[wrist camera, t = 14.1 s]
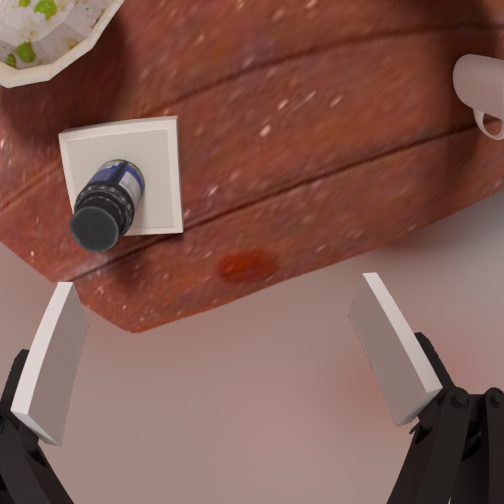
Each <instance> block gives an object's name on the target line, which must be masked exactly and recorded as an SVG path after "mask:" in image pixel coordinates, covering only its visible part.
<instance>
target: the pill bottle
mask: <svg viewBox="0 0 504 504" xmlns="http://www.w3.org/2000/svg"><path fill="white" fill-rule="evenodd" d="M144 187H145V184H144V178H143V175H142V173H141V171H140V169H139V168H138V167H137V166H136V165H134V164H133V163H131V162H129V161H126V160H122V159H116V160H111V161H109V162H107V163H105V164H103V165H102V166H101V167H100V168H99V169H98V171H97V172H96V173H95V174H94V176H93V177H92V178H91V179H90V181H89V182H88V183H87V184H86V186H85V187H84V188H83V189H82V191H81V192H80V193H79V195H78V196H77V198H76V200H75V204H74V214H73V216H72V218H71V221H70V231H71V234H72V237H73V238H74V240H75V241H76V243H77V244H78V245H79V246H80V247H82V248H83V249H85V250H87V251H90V252H95V253H101V252H105V251H108V250H109V249H111V248H112V247H113V246H114V245H115V244H116V242H117V241H118V239H119V238H121V237H122V236H123V235H125V234H126V232H127V231H128V230H129V228H130V227H131V225H132V222H133V219H134V216H135V213H136V210H137V208H138V205H139V202H140V200H141V197H142V195H143V192H144Z"/></svg>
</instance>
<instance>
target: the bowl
mask: <svg viewBox="0 0 504 504" xmlns="http://www.w3.org/2000/svg"><path fill="white" fill-rule="evenodd" d="M123 2H124V0H0V85H2V86H4V87H6V88H11V87H16V86H21V85H26V84H31V83H36V82H42V81H48V80H50V79H51V78H52V77H54V76H55V75H56V74H58V73H59V72H60V71H61V70H63V69H64V68H65V67H67V66H68V65H69V64H71V63H72V62H73V61H75V60H76V59H78V58H79V57H80V56H82V55H83V54H85V53H86V52H88V51H89V50H91V49H92V48H93V46H94V45H95V43H96V41H97V40H98V38H99V37H100V35H101V34H102V32H103V30H104V29H105V27H106V26H107V24H108V23H109V21H110V20H111V19H112V17H113V16H114V14H115V13H116V11H117V10H118V9H119V7H120V6H121V4H122V3H123Z"/></svg>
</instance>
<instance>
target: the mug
mask: <svg viewBox="0 0 504 504" xmlns="http://www.w3.org/2000/svg"><path fill="white" fill-rule="evenodd" d="M453 85H454V89H455V92H456V94H457V96H458V97H459V99H460V100H461V101H462V102H463V103H464V104H466V105H467V106H469V107H471V108H473V112H474V117H475V120H476V123H477V125H478V126H479V128H480V129H481V130H482V131H483V133H485V134H486V135H487V136H489V137H491V138H493V139H496V140H500V139H503V138H504V60H500V59H496V58H491V57H486V56H480V55H474V54H467V55H464V56H462V57H461V58H459V60H458V61H457V62H456V64H455V66H454V70H453ZM484 113H487V114H489V115H492V116H494V117H497V118H499V119H501V120H502V128H501V131H500V133H499V134H497V135H490V134H489V133H488V132H487V131H486V130H485V128H484V125H483V116H484Z"/></svg>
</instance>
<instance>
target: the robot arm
mask: <svg viewBox="0 0 504 504" xmlns="http://www.w3.org/2000/svg"><path fill="white" fill-rule="evenodd" d="M349 317H350V320H351V322H352V324H353V326H354V329H355V331H356V333H357V335H358V338H359V340H360V342H361V344H362V346H363V349H364V351H365V353H366V356H367V358H368V360H369V363H370V365H371V367H372V370H373V372H374V374H375V376H376V379H377V381H378V384H379V386H380V388H381V391H382V393H383V396H384V398H385V401H386V403H387V406H388V408H389V411H390V413H391V416H392V418H393V421H394V423H395V426H396V427H398V426H402V425H405V424H408V423H411V422H412V421H413V420H414V419H415V418H416V417H417V416H418V418H419V420H420V421H419V422H418V424H416V426H414V427H413V428H412V429H411V431H410V433H409V434H412V433H413V432H414V431H415V433H414V436H413V439H412V442H411V445H410V448H409V450H408V453H407V456H406V459H405V461H404V464H403V466H402V469H401V471H400V474H399V477H398V479H397V481H396V484H395V486H394V488H393V491H392V493H391V495H390V497H389V500H388V502H387V504H448V502H449V499H450V497H451V500H450V504H504V393H503V391H501V390H500V389H498V388H495V387H493V388H490V389H488V390H487V391H486V392H485V394H481V395H480V394H479V395H478V394H468V393H467V391H466V390H464V389H462V388H459V387H456V386H455V385H454V383H453V382H452V380H451V378H450V376H449V374H448V373H447V371H446V369H445V367H444V365H443V363H442V362H441V360H440V359H439V356H438V354H437V353H436V351H434V348H433V346H432V344H431V342H430V341H429V339H428V338H426V337H425V336H424V335H423V334H422V333H421V332H418V333H413V332H412V330H411V328H410V327H409V325H408V323H407V322H406V320H405V318H404V316H403V315H402V313H401V311H400V310H399V308H398V306H397V305H396V303H395V301H394V300H393V298H392V297H391V295H390V293H389V292H388V290H387V289H386V287H385V285H384V284H383V282H382V281H381V279H380V277H379V276H378V274H377V273H363V274H362V276H361V279H360V282H359V286H358V289H357V292H356V294H355V297H354V300H353V303H352V306H351V309H350V312H349ZM88 328H89V323H88V320H87V318H86V315H85V313H84V310H83V308H82V305H81V302H80V300H79V297H78V294H77V291H76V289H75V286H74V283H73V282H59V283H58V285H57V288H56V290H55V292H54V294H53V296H52V298H51V301H50V303H49V305H48V307H47V310H46V312H45V315H44V317H43V319H42V321H41V324H40V326H39V329H38V331H37V334H36V336H35V339H34V341H33V344H32V347H31V349H30V350H25V349H22V350H21V351H20V353H19V354H18V355H17V357H16V358H15V360H14V363H13V365H12V368H11V371H10V374H9V376H8V379H7V382H6V385H5V388H4V391H3V394H2V397H1V401H0V504H74V503H73V501H72V500H71V498H70V497H69V495H68V494H67V492H66V491H65V489H64V488H63V486H62V484H61V483H60V481H59V479H58V478H57V476H56V475H55V473H54V471H53V469H52V468H51V466H50V464H49V462H48V461H47V459H46V457H45V455H44V453H43V451H42V450H41V448H40V446H39V445H38V440H39V438H40V439H41V440H42V441H43V442H44V443H46V444H50V445H55V446H60V447H61V446H62V440H63V434H64V428H65V423H66V418H67V412H68V407H69V403H70V398H71V393H72V389H73V384H74V380H75V376H76V372H77V368H78V364H79V360H80V356H81V352H82V349H83V345H84V341H85V338H86V334H87V331H88Z"/></svg>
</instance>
